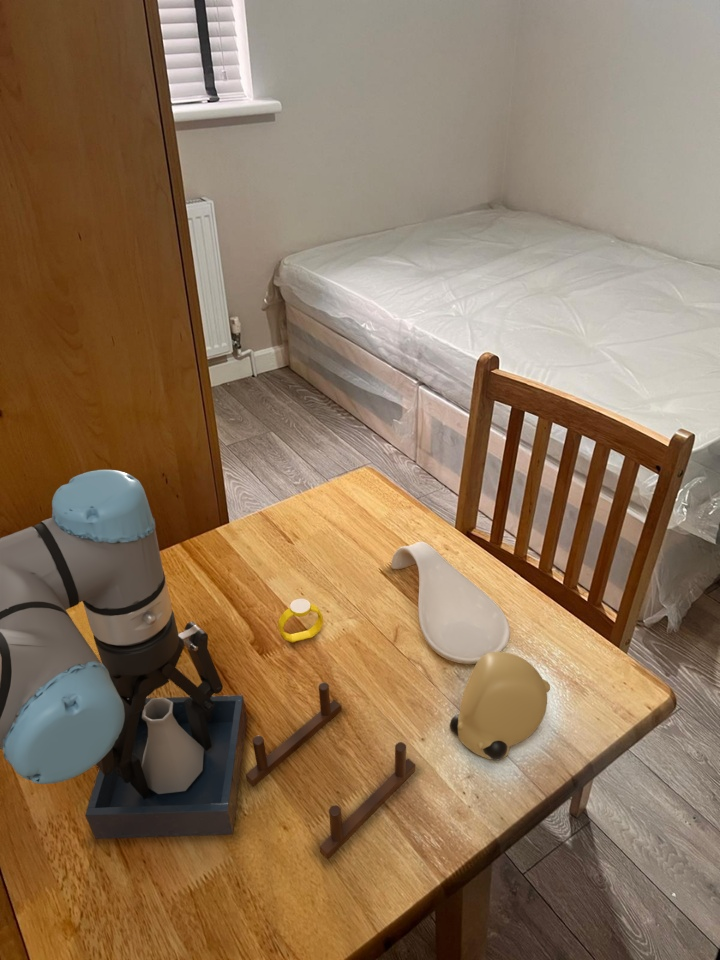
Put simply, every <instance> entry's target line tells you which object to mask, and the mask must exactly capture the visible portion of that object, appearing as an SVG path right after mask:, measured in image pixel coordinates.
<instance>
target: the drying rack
mask: <svg viewBox="0 0 720 960" xmlns="http://www.w3.org/2000/svg"><path fill="white" fill-rule="evenodd" d="M318 695H319V696H318V698H319V707H320V711H319V712H317V713H316V714H315V715H314V716H312V717H311V718H310V719H309V720H308V721H306V723H305V724H303V725H302V726H301V727H300V728H298V729H297V730H296V731H295V732H294V733H293V734H291V735H290V736H289V737H287V739H285V740H284V741H283V742H282V743H281V744H279V745H278V746H277V747H276V748H275V749H274V750H272V751H271V752H270V753H269V754H268V755H267V753H266V746H265V739H264V737H263V736H262V735H256V736H254V737H253V739H252V745H253V751H254V757H255V763H256V765H254V766H253V767H252V768H251V769H250V770H249V771H247V772H246V774H245V780H246V782H247V783H248V784H250V786H251V787H255V786H256V785H258V784H259V783H260V782H261V781H262V780H263V779H264V778H266V777H267V776H268V775H269V774H270V773H271V772H273V770H275V769H276V768H278V766H279V765H280V764H282V763H283V762H284V761H285V760H286V759H288V758H289V757H290V756H291V755H293V753H295V752H296V751H297V750H298V749H299V748H301V746H302V745H304V744H305V743H306V742H307V741H309V739H310V738H312V737H313V736H314V735H315V734H316V733H318V732H319V731H320V730H321V729H322V728H323V727H325V726H326V725H327V724H328V723H329V722H330V721H331V720H333V719H334V718H335V717H336V716H337V715H338V714H340V713H341V712H342V705H341V704H340V703H339V702H337V701H336V700H335V699H333V700H332V701H331V699H330V698H331V697H330V695H331V694H330V685H329V683H327V682H325V681H324V682H321V683H319V684H318ZM414 772H416V763H415V762H413V760H411V759H409V758H407V745H406V744H405V742H402V741H399V742H397V743H395V745H394V771H393V772H392V773H391V774H390V776H388V777H387V778H386V779H385V780H384V781H383V782H382V783H381V784H380V785H379V786H378V787H377V788H376V789H375V790H374V791H373V792H372V793H371V794H370V795H369V796H368V797H367V798H366V799H365V800H364V801H363V802H362V803H361V804H360V805H359V806H358V807H357V808H356V809H355V810H354V811H353V812H352V813H351V814H350V815H349V816H348V817H347V818H346V819H345V820H344V821H343V820H342V808H341V806H339V805H337V804H333V805H331V806H330V807H329V808H328V815H329V827H330V828H329V830H330V835H329V836H328V837H327V838H326V839H325V840H324V841H322V843H321V844H319V848H318V849H319V853H320V855H322V856H323V857H324V858H325V859H326V860H329V859H330V858H331V857H332V856H333V855H334V854H335V853H337V851H338V850H339V849H340V848H341V847H342V846H343V845H344V844H345V843H346V842H347V841H348V840H349V838H351V837H352V835H353V834H355V832H357V830H359V828H361V827H362V825H363V824H365V822H366V821H367V820H368V819H370V817H371V816H373V814H374V813H375V812H376V811H377V810H378V809H379V808H381V806H382V805H383V804H384V803H386V801H387V800H388V799H389V798H390V797H391V796H392V795H393V794H394V793H395V792H396V791H397V790H398V789H399V788H400V787H401V786H402V785H403V784H404V783H405V781H407V780H408V779H409V777H410V776H411V775H413V773H414Z"/></svg>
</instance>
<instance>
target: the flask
mask: <svg viewBox="0 0 720 960" xmlns="http://www.w3.org/2000/svg"><path fill="white" fill-rule="evenodd" d="M152 698H153V699H151V700H150V701H149V702H148V703H147V704H146V705H145V706H144V710H143V713H142V719H143V720H144V721H146V722H147V726H148V739H147V744H146V747H145V751H144V755H143V759H142V769H143V773H144V776H145V779H146V782H147V786H148V788H149V789H151V790H153V791H154V792H156V793H158V794H164V793H172V792H181V791H186V790H187V788H188V787H189V786H190V785H191V784H192V782H193V781H194V780H195V779H196V778H197V776H198V775H199V774H200V773H201V772H202V770H203V755H204V748H203V747H202V746H201V745H200V744H199V743H198V742H196V741H195V740H194V739H193V738H192V737H191V736H190V735H189V734H188V733H187V732H185V731H184V730H183V729H182V728H181V727H180V726H179V724H178V723H177V721H176V720H175V718H174V716H173V713H172V710H173V702H171V701H170V700H168V699H166V697H163V696H162V697H152Z"/></svg>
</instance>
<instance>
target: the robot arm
mask: <svg viewBox="0 0 720 960" xmlns="http://www.w3.org/2000/svg"><path fill="white" fill-rule="evenodd" d="M51 507H52V509H51V512H52V513H51V517H50V518H49V517H48V518H47V519H44V520H42V521H40V523H38V524H35V525H33V526H29V527H26V528H24V529H21V530H19V531H16V532H13V533H10V534H9V535H5V536H3V537H0V750H2V751H3V758H4V760H6V761H7V763H8V764H9V765H11V767H12V768H13V769H14V771H15V772H16V774H18V775H19V776H20V777H22V778H23V779H25V780H27V781H31V782H32V783H33V784H38V785H52V784H58V783H62V782H67V781H68V780H71V779H74V778H76V777H78V776H81V775H82V774H84V773H86V772H87V771H89V770H90V769H92V768H93V767H94V766H96V767H97V768H98V770H99V769H100V770H101V771H102V773H103V774H104V775H108V774H110V773H111V772H112V771H113V770H114V768H116V770H117V774H118V775H119V776H120V777H121V778H122V780H123V781H124V782H125V783H129V782H130V783H131V785H132V786H133V787H134V788H135V789H136V791H137V792H138V793H139V794H140V795H141V796H142V797H143V799H144V800H145V799H146V798H147V797H148V796H150V792H149V789H148V786H147V782H146V779H145V776H144V773H143V769H142V766H141V763H140V760H139V758H138V757H137V756H136V755H135V754H134V752H133V748H134V742H135V737H136V732H137V726H138V721H139V715H140V711H143V710H144V706H145V701H146V698H148V697H149V696H150V695H151V694H152V693H153V692H155V691H156V690H158V689H159V688H161V687H163V686H166V685H167V684H168V683H170V682H172V683H173V684H174V685H175V686H177V687H178V688H179V689H180V690H181V691H182V692H184V694H186V695H187V696H188V697H189V698H188V699H186V700H185V701H184V703H185V708H186V712H187V716H188V720H189V725H190V729H191V733H192V737H193V738H194V739H195V740H196V741H197V742H198V743H199V744H200V745H201V746H202V747H203V748H204V749H205V750H206V751H207V750H208V749H210V748H211V747H212V746H211V741H210V737H209V732H208V727H207V723H208V722H209V721H210V720H211V718H212V714H211V710H212V709H213V708H214V706H215V703H214V702H213V701H212V700H211V699H210V698H211V696H214V694H215V695H218V694H220V693H221V692H222V690H223V689H224V685H223V683H222V680H221V678H220V675H219V673H218V671H217V668H216V666H215V663H214V660H213V659H212V656H211V653H210V651H209V649H208V646H209V645H208V643H209V642H208V641H209V634H208V633H207V632H206V631H204V630H203V629H202V627H200V626H199V625H197V623H195V622H194V621H188V622H187V623H186V625H185V626H184V631H181V632H179V631H178V626H177V621H176V617H175V613H174V610H173V607H172V605H173V604H172V599H171V596H170V591H169V587H168V583H167V578H166V574H165V570H164V566H163V563H162V557H161V552H160V547H159V540H158V535H157V531H156V520H155V517H154V516H153V514H152V510H151V507H150V504H149V501H148V497H147V495H146V491H145V489H144V487H143V485H142V483H141V482H140V481H139V479H137V478H136V477H134V476H133V475H131V474H129V473H127V472H125V471H122V470H118V469H117V470H116V469H97V470H91V471H87V472H84V473H81V474H78V475H76V476H73V477H71V478H70V480H69V482H68V483H65V484H63V485H60V487H59V488H58V489H56V491H55V493H54V494H53V497H52V500H51ZM80 603H82V604H83V608H84V611H85V615H86V617H87V618H86V619H87V622H88V625H89V628H90V631H91V633H92V635H93V639H94V643H95V646H96V649H97V653H98V656H99V657H98V656H97V655H96V653H95V651H94V650H93V649H92V647H91V646H90V644H89V643H88V641H87V640H86V639H85V637H84V636H83V634H82V632H81V631H80V629H79V628H78V627H77V625H76V623H75V622H74V621H73V619H72V618H71V616H70V615H69V613H68V611H67V610H69V609H71V608H73V607H75V606H78V605H79V604H80ZM185 648H186V650H187V652H188V655H189V657H190V659H191V661H192V663H193V665H194V668H195V670H196V672H197V674H198V677H199V679H200V681H201V683H200V684H199V685H198V686H197V685H196V684H195V683H194V682H193V681H192V680H190V678H188V677H187V676H186V675H185V674H184V673H183V672H181V671H180V670H179V669H178V668H177V665H178V663H179V660H180V657H181V656H182V653H183V650H184V649H185ZM190 697H191V698H192V699H191V698H190Z"/></svg>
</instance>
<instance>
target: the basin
mask: <svg viewBox="0 0 720 960" xmlns="http://www.w3.org/2000/svg"><path fill="white" fill-rule="evenodd" d="M189 697H190V696H172V697H171V696H169V697H167V696H165V698H166V699H168V700H170V701H171V702H173V710H172V713H173V716H174V718H175V720H176V721H177V723H178V724H179V726H180V727H181V728H182V729H183V730H184V731H185V732H187V733H188V734H189V735H190V736H191V737H192V733H191V729H190V725H189V720H188V716H187V712H186V708H185V703H184V701H185V700H186V699H188V698H189ZM153 698H154V697H146V701H145V705H146V704H147V703H148V702H149V701H150V700H151V699H153ZM190 698H191V697H190ZM191 699H192V698H191ZM210 699H211V700H212V701H213V702H214V703H215V706H214V708H213V709H212V710H211V714H212V718H211V720H210V721H209V722H208V723H207V727H208V732H209V737H210V741H211V746H212V747H211V748H210V749H208V750H207V751H206V750H205V749H204V755H203V770H202V772H201V773H200V774H199V775H198V776H197V778H196V779H195V780H194V781H193V782H192V784H191V785H190V786H189V787H188V788H187V790H186V791H181V792H172V793H164V794H158V793H156V792H154V791H153V790H151V789H149V788H148V789H149V792H150V796H148V797H147V798H146V799H145V800H144V799H143V797H142V796H141V795H140V794H139V793H138V792H137V791H136V789H135V788H134V787H133V786H132V785H131V783H130V782H129V783H125V782H124V781H123V780H122V778H121V777H120V776H119V775H118V774H117V770H116V768H114V770H113V771H112V772H111V773H110V774H108V775H104V774H103V773H102V771H101V770H100V769H99V768H98V771H97V775H96V778H95V781H94V784H93V788H92V792H91V795H90V798H89V801H88V803H87V804H88V805H87V808H86V812H85V818H86V821H87V823H88V826H89V828H90V830H91V832H92V834H93V835H92V836H93V838H94V839H95V840H110V839H111V840H112V839H138V838H139V839H142V838H171V837H201V836H202V837H203V836H205V837H206V836H230V835H232V836H233V834H234V828H235V821H236V812H237V805H238V798H239V797H238V796H239V789H240V781H241V773H242V766H243V765H242V764H243V756H244V750H245V749H244V748H245V741H246V740H245V739H246V732H247V724H248V716H247V710H246V703H245V700H244V695H243V694H233V695H232V694H231V695H229V694H228V695H212V696H211V698H210ZM142 713H143V711H140V715H139V721H138V726H137V732H136V737H135V742H134V748H133V752H134V754H135V755H136V756H137V757H138V758H139V760H140V763H141V766H142V759H143V755H144V751H145V747H146V744H147V739H148V726H147V722H146V721H144V720H143V719H142ZM192 738H193V737H192ZM193 739H194V738H193ZM194 740H195V739H194ZM195 741H196V740H195ZM196 742H197V741H196Z"/></svg>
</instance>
